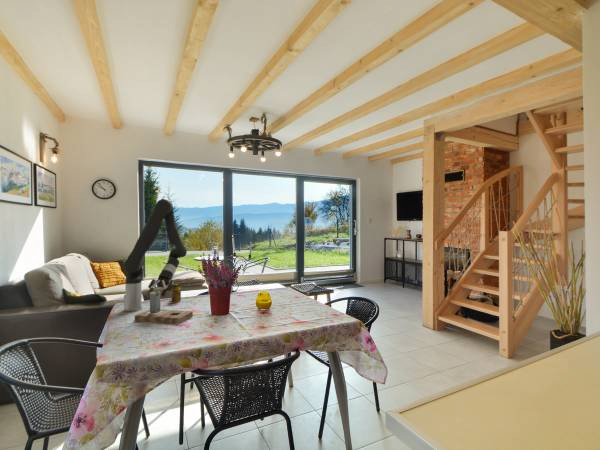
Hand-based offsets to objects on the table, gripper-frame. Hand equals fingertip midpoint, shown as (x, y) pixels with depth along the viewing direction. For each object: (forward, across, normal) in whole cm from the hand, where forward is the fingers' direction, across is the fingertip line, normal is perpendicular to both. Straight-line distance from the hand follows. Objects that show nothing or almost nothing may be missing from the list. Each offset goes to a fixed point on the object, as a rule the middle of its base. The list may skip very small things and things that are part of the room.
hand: (155, 295), depth 187 cm
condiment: (-16, -11, +35) cm, 40 cm away
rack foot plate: (+10, +6, +9) cm, 14 cm away
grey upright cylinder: (+7, 0, +6) cm, 10 cm away
